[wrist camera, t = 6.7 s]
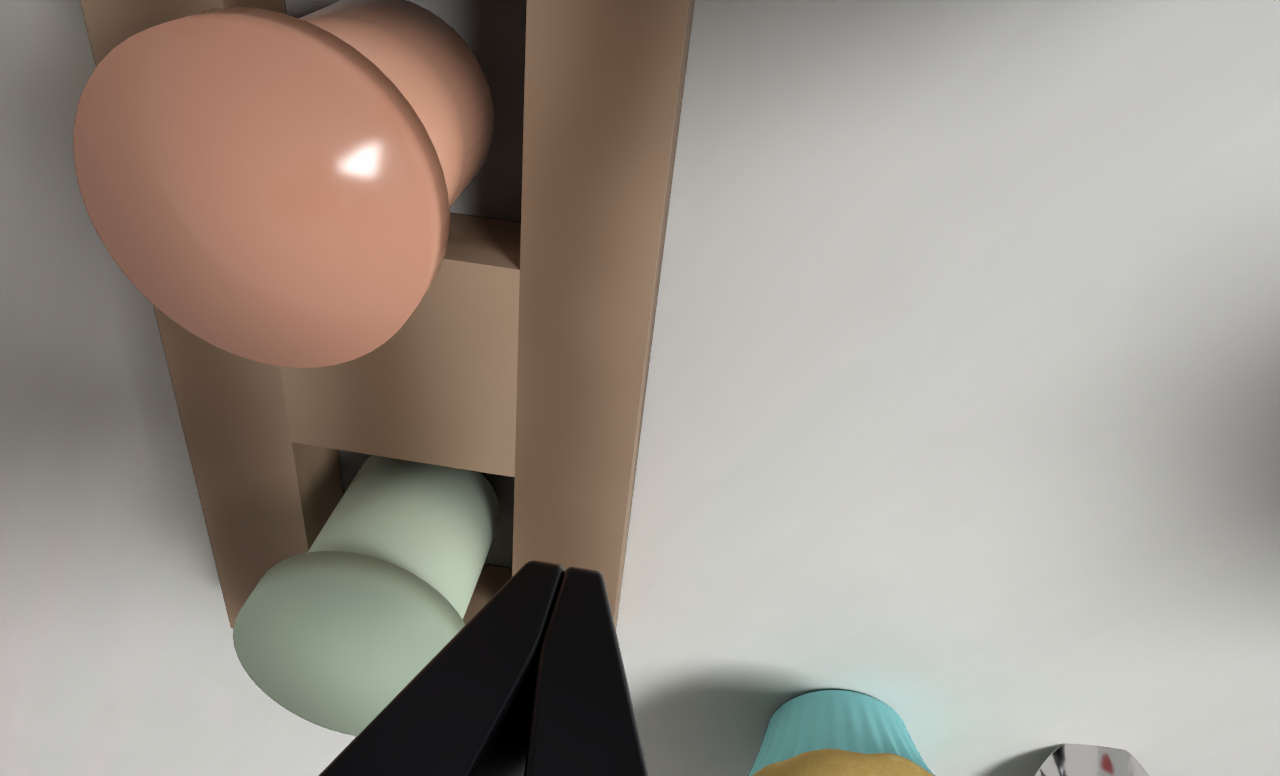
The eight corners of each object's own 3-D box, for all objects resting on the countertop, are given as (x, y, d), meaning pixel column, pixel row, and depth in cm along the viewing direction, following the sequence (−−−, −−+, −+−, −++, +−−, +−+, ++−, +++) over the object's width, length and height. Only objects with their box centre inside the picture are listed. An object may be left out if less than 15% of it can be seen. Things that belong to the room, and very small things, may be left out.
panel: (711, -136, 17) (704, -130, 15) (616, 628, 29) (604, 690, 27) (117, -209, 17) (28, -213, 15) (268, 571, 30) (230, 627, 27)
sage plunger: (522, 442, 24) (458, 604, 19) (517, 583, 27) (462, 754, 22) (327, 412, 24) (214, 564, 19) (344, 555, 28) (251, 717, 23)
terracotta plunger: (525, -20, 17) (423, 48, 12) (519, 246, 20) (435, 389, 15) (244, -57, 17) (27, -5, 12) (281, 212, 20) (120, 341, 15)
